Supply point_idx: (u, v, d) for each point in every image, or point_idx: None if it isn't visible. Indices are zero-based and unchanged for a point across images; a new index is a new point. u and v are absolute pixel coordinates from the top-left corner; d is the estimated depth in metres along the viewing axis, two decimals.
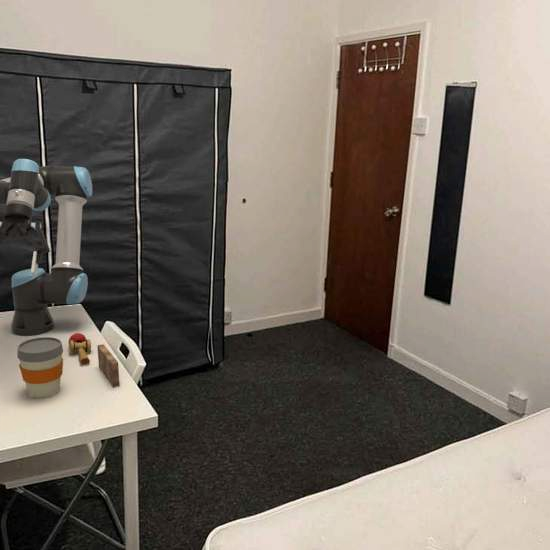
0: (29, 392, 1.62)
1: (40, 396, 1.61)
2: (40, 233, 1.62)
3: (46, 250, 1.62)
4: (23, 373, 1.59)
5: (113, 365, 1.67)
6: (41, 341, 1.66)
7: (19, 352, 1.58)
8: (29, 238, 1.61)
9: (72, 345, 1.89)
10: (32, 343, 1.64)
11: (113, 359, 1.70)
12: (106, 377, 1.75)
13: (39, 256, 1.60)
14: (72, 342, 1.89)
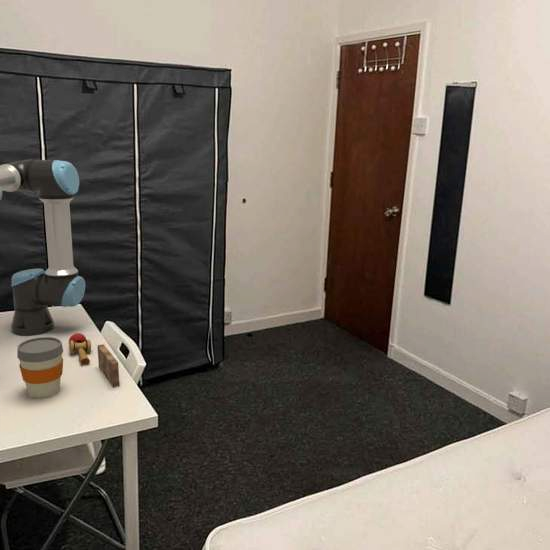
0: (29, 392, 1.62)
1: (40, 396, 1.61)
2: None
3: None
4: (23, 373, 1.59)
5: (113, 365, 1.67)
6: (41, 341, 1.66)
7: (19, 352, 1.58)
8: None
9: (72, 345, 1.89)
10: (32, 343, 1.64)
11: (113, 359, 1.70)
12: (106, 377, 1.75)
13: None
14: (72, 342, 1.89)
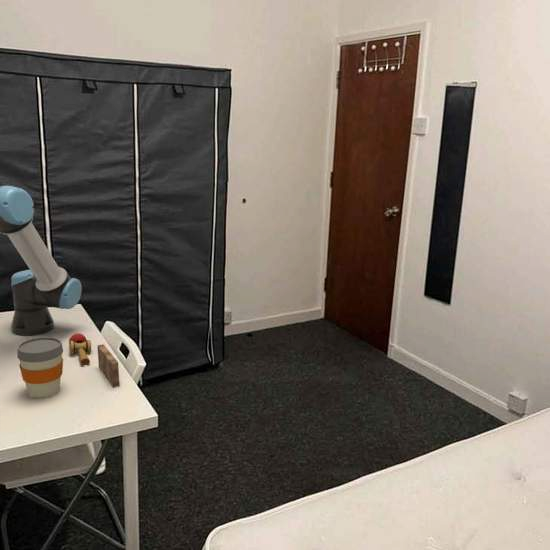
0: (29, 392, 1.62)
1: (40, 396, 1.61)
2: None
3: None
4: (23, 373, 1.59)
5: (113, 365, 1.67)
6: (41, 341, 1.66)
7: (19, 352, 1.58)
8: None
9: (72, 345, 1.88)
10: (32, 343, 1.64)
11: (113, 359, 1.70)
12: (106, 377, 1.75)
13: None
14: (72, 342, 1.89)
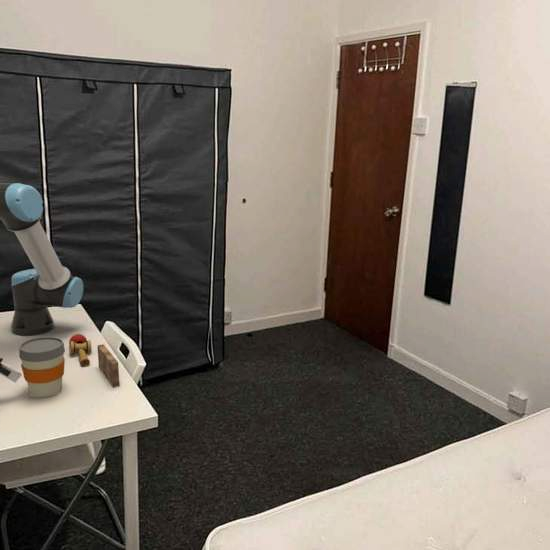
0: (31, 392, 1.62)
1: (42, 396, 1.62)
2: None
3: None
4: (25, 373, 1.59)
5: (113, 365, 1.67)
6: (43, 341, 1.66)
7: (21, 352, 1.58)
8: None
9: (72, 346, 1.88)
10: (34, 343, 1.64)
11: (113, 359, 1.70)
12: (106, 377, 1.75)
13: None
14: (72, 343, 1.89)
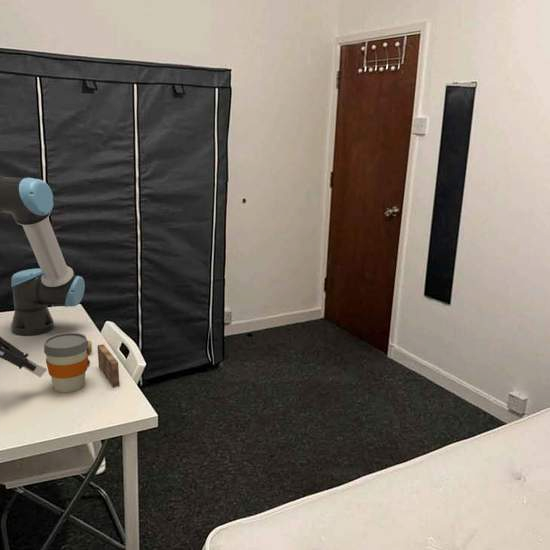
0: (55, 386, 1.66)
1: (66, 390, 1.65)
2: None
3: (23, 365, 1.57)
4: (50, 368, 1.63)
5: (113, 365, 1.67)
6: (66, 337, 1.69)
7: (46, 347, 1.61)
8: None
9: None
10: (58, 339, 1.68)
11: (113, 359, 1.70)
12: (106, 377, 1.75)
13: None
14: None
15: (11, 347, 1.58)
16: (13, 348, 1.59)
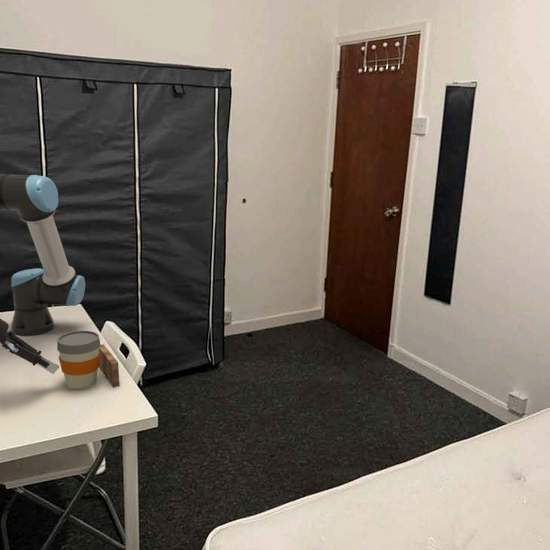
0: (68, 383, 1.68)
1: (78, 387, 1.67)
2: None
3: (37, 362, 1.59)
4: (62, 365, 1.65)
5: (113, 365, 1.67)
6: (79, 334, 1.72)
7: (59, 344, 1.63)
8: None
9: None
10: (71, 336, 1.70)
11: (113, 359, 1.70)
12: (106, 377, 1.75)
13: None
14: None
15: (25, 344, 1.61)
16: (27, 345, 1.61)
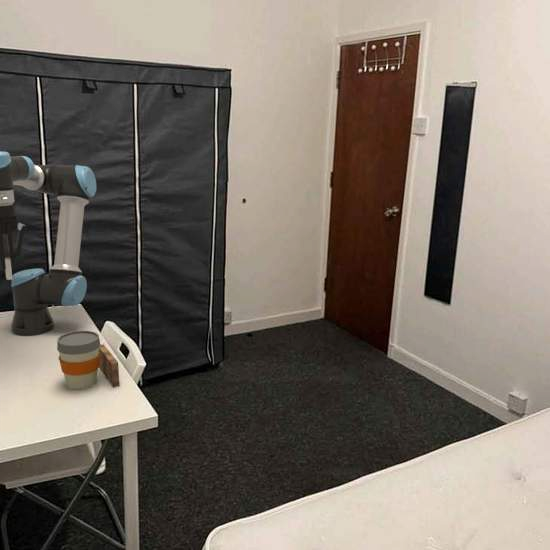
0: (68, 383, 1.68)
1: (78, 387, 1.67)
2: (21, 239, 1.70)
3: None
4: (62, 365, 1.65)
5: (113, 365, 1.67)
6: (79, 334, 1.72)
7: (59, 344, 1.63)
8: (9, 242, 1.69)
9: None
10: (71, 336, 1.70)
11: (113, 359, 1.70)
12: (106, 377, 1.75)
13: (13, 262, 1.71)
14: None
15: None
16: None
